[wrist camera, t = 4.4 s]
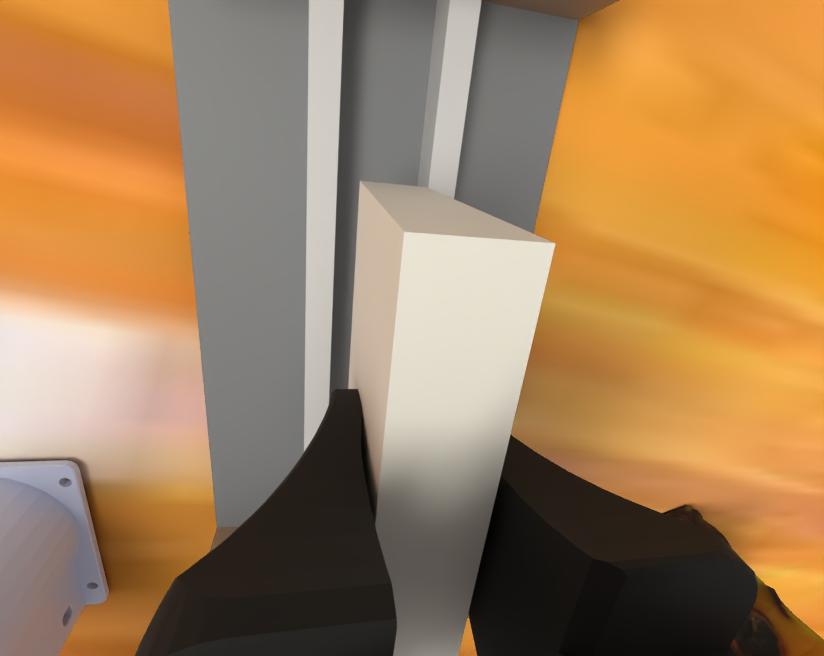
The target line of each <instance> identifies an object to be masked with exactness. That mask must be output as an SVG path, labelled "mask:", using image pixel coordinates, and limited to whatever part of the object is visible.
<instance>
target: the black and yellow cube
mask: <svg viewBox="0 0 824 656" xmlns="http://www.w3.org/2000/svg"><path fill="white" fill-rule="evenodd" d="M665 515H668V516H671V517H674V518H677V519H680V520H683V521H686V522H689V523H692V524H695V525H698V526H701V527H704V528H707V529H710V530H713V531H714V532H715V533H716V534H717V535H718V536H719V537H720V538H721V539H722V540H723V541H724V542H725V543H726V544H727V545H728V546H729V547H730V548H731V549H732V547H731V546H730V544H729V543H728V541H727V540H726V538H725V537H724V536H723V535H722V534H721V533H720V532H719V531H718V530H717V529H716V528H715V527H713V526H712V525H710V524H709V523H707V522H706V521H704V520H703V518H702V515H701V514H700V513H699V512H698V511H697V510H695V509H693V508H691V507H689V506H685V507H682V508H678V509H675V510H672V511H670V512H667V513H665ZM732 550H733V549H732ZM733 551H734V550H733ZM734 552H735V551H734ZM735 553H736V552H735ZM736 554H737V553H736ZM755 576H756V575H755ZM756 579H757V582H758V590H757V598H756V601H755V604H754V606H753V608H752V610H751V612H750V614H749V615H748V617H747V619H746V620H745V622H744V624H743V625H742V627H741V628H740V630H739V632H738V633H737V635H736V637H735V638H734V640H733V641H732V643H731V645H730V647H731V648H732V649H733V651H734V652H735V653H736V654H737V656H824V640H823V639H822V638H821V637H820V636H819V635H817V634H816V633H815V632H814V631H813V630H812V629H810V628H809V627H808V626H807V625H806V624H805V623H803V622H802V621H801V620H800V619H799V618H797V617H796V616H795V615H794V614H793V613H792V612H791V611H790V610H789V609H788V608H787V607H786V606H785V605H784V604H783V603H782V601H781V600H780V598H779V597H778V595H777V593H776V592H775V590H774V589H773V588H771V587H769V586H767V585H765V584H764V583H763V582H762V581H761V580H760V579H759V578H758V577H757V576H756Z"/></svg>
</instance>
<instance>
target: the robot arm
mask: <svg viewBox="0 0 824 656" xmlns="http://www.w3.org/2000/svg"><path fill="white" fill-rule="evenodd" d="M361 429H362V404H361V399H360V395H359V392H358V389H335V390H334V391H333V392H332V393H331V399H330V403H329V406H328V408H327V411H326V413H325V416H324V418H323V420H322V422H321V424H320V426H319V428H318V430H317V432H316V433H315V435H314V437H313V439H312V440H311V442H310V443H309V445H308V447H307V448H306V450H305V452H304V453H303V455H302V456H301V458H300V459H299V461H298V462H297V463H296V465H295V466H294V467H293V469H292V470H291V471H290V473H289V474H288V475H287V477H286V478H285V479H284V480H283V482H282V483H281V484H280V485H279V486H278V487H277V489H276V490H275V491H274V492H273V493H272V494H271V495H270V497H269V498H268V499H267V500H266V501H265V502H264V503H263V504H262V505H261V506H260V507H259V508H258V509H257V510H256V511H255V512H254V513H253V514H252V515H251V516H250V517H249V518H248V519H247V520H246V521H245V522H244V523H243V524H241V525H240V526H239V527H238V528H237V529H236V530H235V531H234V532H233V533H232V534H231V535H230V536H229V537H228V538H226V539H225V540H224V541H223V542H222V543H221V544H219V545H218V546H217V547H216V548H214V549H213V550H212V551H211V552H209V553H208V554H207V555H205V556H204V557H203V558H202V559H200V560H199V561H198V562H197V563H195V564H194V565H193V566H191V567H190V568H189V569H188V570H186V571H185V572H184V573H182V574H181V575H179V576H178V577H177V578H176V579H175V580H174V582H173V583H172V585H171V587H170V588H169V590H168V592H167V593H166V595H165V597H164V599H163V600H162V602H161V604H160V606H159V607H158V609H157V611H156V613H155V615H154V617H153V619H152V621H151V623H150V625H149V627H148V629H147V631H146V633H145V635H144V637H143V639H142V641H141V643H140V645H139V648H138V650H137V652H136V655H135V656H393V653H394V646H395V639H396V632H397V616H396V609H395V602H394V595H393V588H392V582H391V579H390V576H389V573H388V570H387V567H386V564H385V560H384V557H383V553H382V549H381V546H380V542H379V539H378V535H377V531H376V527H375V523H374V518H373V514H372V510H371V505H370V500H369V495H368V490H367V485H366V480H365V474H364V468H363V462H362V452H361ZM65 478H67V479H69V480H71V481H68V480H66V479H65ZM757 590H758V582H757V579H756V576H755V573H754V571H753V570H752V569H751V568H750V567H749V566H748V565H747V564H746V563H745V562H744V561H743V560H742V559H741V558H740V557H739V556H738V555H737V554H736V553H735V552H734V551H733V550H732V549H731V548H730V547H729V546H728V545H727V544H726V543H725V542H724V541H723V540H722V539H721V538H720V537H719V536H718V535H717V534H716V533H715V532H714V531H713V530H710V529H707V528H704V527H701V526H698V525H695V524H692V523H689V522H686V521H683V520H680V519H677V518H674V517H671V516H668V515H665V514H662V513H660V512H657V511H654V510H652V509H649V508H647V507H644V506H642V505H639V504H637V503H634V502H632V501H629V500H627V499H624V498H622V497H620V496H618V495H615V494H613V493H611V492H609V491H606V490H604V489H602V488H600V487H598V486H596V485H594V484H592V483H590V482H588V481H586V480H584V479H582V478H580V477H578V476H576V475H574V474H572V473H570V472H568V471H567V470H565V469H563V468H561V467H560V466H558V465H556V464H554V463H553V462H551V461H549V460H548V459H546V458H544V457H543V456H541V455H539V454H538V453H536V452H535V451H533V450H532V449H530V448H529V447H527V446H526V445H524V444H523V443H522V442H520V441H519V440H517V439H516V438H514V437H513V436H512V435H510V439H509V443H508V447H507V451H506V455H505V460H504V464H503V468H502V472H501V477H500V481H499V485H498V489H497V494H496V498H495V502H494V506H493V510H492V515H491V519H490V523H489V527H488V532H487V536H486V540H485V544H484V549H483V553H482V557H481V561H480V565H479V570H478V574H477V578H476V582H475V587H474V591H473V595H472V599H471V604H470V608H469V612H468V614H469V619H470V623H471V628H472V633H473V637H474V642H475V647H476V651H477V656H737V654H736V653H735V652H734V651H733V649H732V648H731V647H730V645H731V643H732V641H733V640H734V638H735V637H736V635H737V633H738V632H739V630H740V628H741V627H742V625H743V624H744V622H745V620H746V619H747V617H748V615H749V614H750V612H751V610H752V608H753V606H754V604H755V601H756V598H757ZM108 595H109V589H108V585H107V581H106V577H105V573H104V568H103V564H102V560H101V556H100V552H99V548H98V544H97V540H96V535H95V531H94V527H93V523H92V519H91V515H90V511H89V506H88V502H87V498H86V494H85V490H84V486H83V482H82V478H81V473H80V469H79V467H78V465H77V464H75V463H74V462H72V461H67V460H59V461H27V462H0V656H58V655H59V653H60V651H61V649H62V648H63V646H64V644H65V642H66V640H67V638H68V636H69V634H70V633H71V631H72V629H73V627H74V625H75V623H76V621H77V619H78V617H79V616H80V614H81V612H82V610H83V608H84V606H85V605H95V604H101V603H103V602H105V600H106V599H107V597H108Z"/></svg>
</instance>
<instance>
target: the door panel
mask: <svg viewBox="0 0 824 656" xmlns="http://www.w3.org/2000/svg"><path fill="white" fill-rule="evenodd" d="M555 244H556V243H554V242H551V241H549V240H547V239H544V238H542V237H540V236H537V235H535V234H533V233H531V232H528V231H526V230H524V229H521V228H519V227H517V226H515V225H512V224H510V223H508V222H505V221H503V220H501V219H498V218H496V217H494V216H492V215H489V214H487V213H485V212H482V211H480V210H478V209H475V208H473V207H471V206H469V205H466V204H464V203H462V202H459V201H457V200H455V199H452V198H450V197H448V196H446V195H443V194H441V193H439V192H436V191H434V190H432V189H430V188H427V187H419V186H409V185H399V184H389V183H379V182H369V181H360V188H359V206H358V224H357V241H356V259H355V277H354V295H353V313H352V331H351V348H350V366H349V384H348V389H358V392H359V395H360V399H361V404H362V429H361V452H362V462H363V468H364V474H365V480H366V485H367V490H368V495H369V500H370V505H371V510H372V514H373V518H374V523H375V527H376V531H377V535H378V539H379V542H380V546H381V549H382V553H383V557H384V560H385V564H386V567H387V570H388V573H389V576H390V579H391V582H392V588H393V595H394V602H395V609H396V616H397V632H396V639H395V646H394V653H393V656H458V654H459V650H460V646H461V642H462V637H463V633H464V629H465V625H466V620H467V616H468V612H469V608H470V604H471V599H472V595H473V591H474V587H475V582H476V578H477V574H478V570H479V565H480V561H481V557H482V553H483V549H484V544H485V540H486V536H487V532H488V527H489V523H490V519H491V515H492V510H493V506H494V502H495V498H496V494H497V489H498V485H499V481H500V477H501V472H502V468H503V464H504V460H505V455H506V451H507V447H508V443H509V439H510V434H511V430H512V426H513V422H514V417H515V413H516V409H517V405H518V400H519V396H520V392H521V388H522V384H523V379H524V375H525V371H526V367H527V362H528V358H529V354H530V350H531V345H532V341H533V337H534V333H535V329H536V324H537V320H538V316H539V312H540V307H541V303H542V299H543V295H544V290H545V286H546V282H547V278H548V273H549V269H550V265H551V261H552V257H553V252H554V248H555Z"/></svg>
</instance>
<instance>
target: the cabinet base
mask: <svg viewBox="0 0 824 656" xmlns="http://www.w3.org/2000/svg"><path fill="white" fill-rule="evenodd" d="M617 1H619V0H168V4H169V15H170V26H171V36H172V47H173V58H174V69H175V80H176V90H177V101H178V112H179V123H180V134H181V144H182V155H183V166H184V177H185V187H186V198H187V209H188V220H189V231H190V241H191V252H192V263H193V274H194V284H195V295H196V306H197V317H198V328H199V338H200V349H201V360H202V371H203V381H204V392H205V403H206V414H207V425H208V435H209V446H210V457H211V468H212V479H213V489H214V500H215V511H216V522H217V529H216V533H215V536H214V540H213V543H212V547H211V550H210V552H211V551H212V550H213V549H214V548H216V547H217V546H218V545H219V544H221V543H222V542H223V541H224V540H225V539H226V538H228V537H229V536H230V535H231V534H232V533H233V532H234V531H235V530H236V529H237V528H238V527H239V526H240V525H241V524H243V523H244V522H245V521H246V520H247V519H248V518H249V517H250V516H251V515H252V514H253V513H254V512H255V511H256V510H257V509H258V508H259V507H260V506H261V505H262V504H263V503H264V502H265V501H266V500H267V499H268V498H269V497H270V495H271V494H272V493H273V492H274V491H275V490H276V489H277V487H278V486H279V485H280V484H281V483H282V482H283V480H284V479H285V478H286V477H287V475H288V474H289V473H290V471H291V470H292V469H293V467H294V466H295V465H296V463H297V462H298V461H299V459H300V458H301V456H302V455H303V453H304V452H305V450H306V448H307V447H308V445H309V443H310V442H311V440H312V439H313V437H314V435H315V433H316V432H317V430H318V428H319V426H320V424H321V422H322V420H323V418H324V416H325V413H326V411H327V408H328V406H329V403H330V399H331V393H332V392H333V391H334V390H335V389H348V384H349V366H350V348H351V331H352V313H353V295H354V277H355V259H356V241H357V224H358V206H359V188H360V181H369V182H379V183H389V184H399V185H409V186H419V187H427V188H430V189H432V190H434V191H436V192H439V193H441V194H443V195H446V196H448V197H450V198H452V199H455V200H457V201H459V202H462V203H464V204H466V205H469V206H471V207H473V208H475V209H478V210H480V211H482V212H485V213H487V214H489V215H492V216H494V217H496V218H498V219H501V220H503V221H505V222H508V223H510V224H512V225H515V226H517V227H519V228H521V229H524V230H526V231H528V232H531V233H533V232H534V228H535V223H536V218H537V214H538V209H539V204H540V200H541V195H542V190H543V186H544V181H545V176H546V172H547V167H548V162H549V157H550V153H551V148H552V143H553V139H554V134H555V129H556V125H557V120H558V115H559V111H560V106H561V101H562V97H563V92H564V87H565V83H566V78H567V73H568V69H569V64H570V59H571V55H572V50H573V45H574V40H575V36H576V31H577V26H578V22H579V20H581V19H583V18H585V17H587V16H589V15H591V14H593V13H595V12H597V11H599V10H601V9H603V8H605V7H607V6H609V5H611V4H613V3H615V2H617ZM467 618H469V614H468V616H467Z"/></svg>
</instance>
